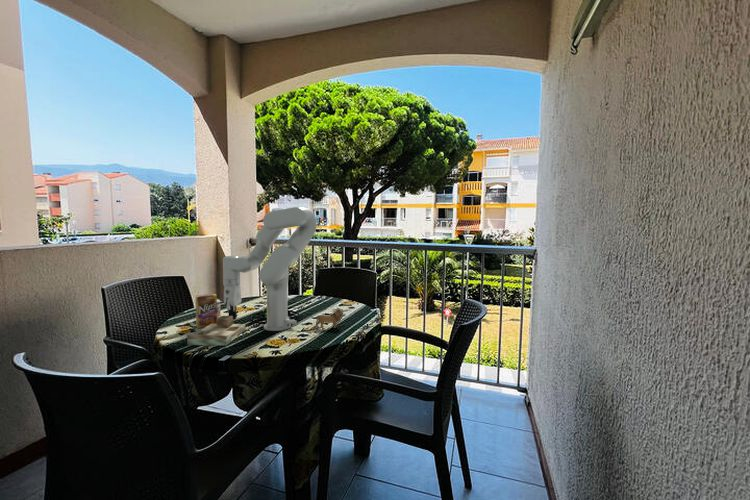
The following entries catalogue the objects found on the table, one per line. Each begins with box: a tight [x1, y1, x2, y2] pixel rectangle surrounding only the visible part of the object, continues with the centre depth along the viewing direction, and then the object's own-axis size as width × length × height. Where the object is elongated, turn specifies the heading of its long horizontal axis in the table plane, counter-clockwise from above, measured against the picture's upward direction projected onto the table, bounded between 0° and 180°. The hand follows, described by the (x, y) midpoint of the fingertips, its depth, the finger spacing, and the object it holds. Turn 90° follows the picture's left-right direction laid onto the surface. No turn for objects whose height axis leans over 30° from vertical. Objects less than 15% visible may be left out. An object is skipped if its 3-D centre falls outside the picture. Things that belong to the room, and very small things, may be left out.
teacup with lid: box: [217, 298, 222, 319], centre depth 185 cm, size 12×9×12 cm
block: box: [216, 315, 234, 328], centre depth 164 cm, size 5×6×4 cm
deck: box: [186, 323, 246, 346], centre depth 157 cm, size 16×21×4 cm
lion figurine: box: [313, 308, 344, 330], centre depth 171 cm, size 15×5×9 cm, turn 112°
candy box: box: [195, 293, 218, 329], centre depth 171 cm, size 9×4×15 cm, turn 123°
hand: (232, 319), depth 173 cm, fingers closed
